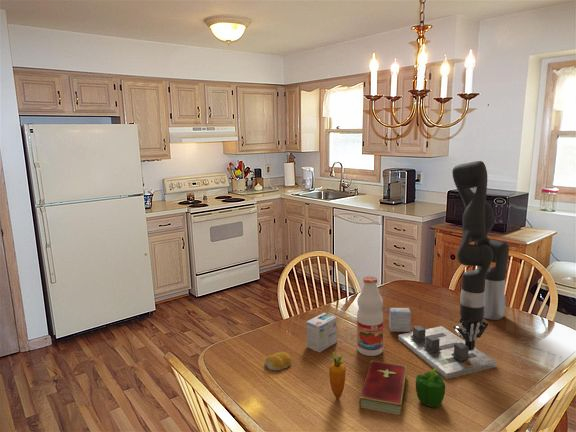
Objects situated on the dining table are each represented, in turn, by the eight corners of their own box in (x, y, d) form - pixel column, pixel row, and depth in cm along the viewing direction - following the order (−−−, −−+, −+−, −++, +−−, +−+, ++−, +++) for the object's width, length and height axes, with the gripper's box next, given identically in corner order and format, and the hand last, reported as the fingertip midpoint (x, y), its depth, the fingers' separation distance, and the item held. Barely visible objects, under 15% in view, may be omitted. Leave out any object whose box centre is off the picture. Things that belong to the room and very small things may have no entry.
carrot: (328, 394, 127) (327, 350, 124) (344, 393, 127) (343, 348, 124) (331, 404, 122) (330, 358, 119) (347, 403, 122) (347, 357, 119)
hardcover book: (359, 409, 120) (359, 396, 119) (370, 370, 139) (370, 359, 139) (401, 417, 116) (401, 404, 115) (406, 376, 135) (406, 364, 134)
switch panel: (441, 330, 164) (442, 325, 164) (496, 366, 138) (496, 361, 138) (398, 339, 159) (398, 334, 158) (446, 379, 132) (446, 373, 132)
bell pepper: (429, 415, 116) (430, 383, 114) (409, 398, 123) (410, 368, 121) (451, 406, 119) (453, 375, 117) (431, 390, 127) (432, 361, 125)
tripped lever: (462, 352, 143) (462, 341, 142) (470, 358, 139) (471, 347, 138) (451, 355, 142) (452, 343, 141) (459, 360, 138) (460, 349, 137)
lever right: (420, 335, 156) (421, 324, 156) (427, 339, 153) (427, 329, 152) (410, 337, 155) (411, 326, 154) (417, 341, 151) (417, 331, 151)
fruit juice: (379, 343, 156) (379, 273, 151) (385, 356, 147) (386, 282, 142) (354, 344, 156) (354, 274, 151) (359, 357, 147) (359, 283, 141)
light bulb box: (324, 337, 163) (324, 311, 161) (337, 342, 158) (337, 316, 156) (306, 347, 155) (305, 320, 153) (319, 353, 151) (318, 326, 149)
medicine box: (408, 327, 168) (408, 307, 167) (410, 332, 164) (411, 312, 162) (388, 327, 169) (389, 307, 167) (390, 332, 165) (390, 312, 163)
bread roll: (295, 365, 144) (295, 355, 143) (274, 374, 139) (273, 363, 138) (282, 355, 150) (282, 345, 150) (261, 363, 146) (261, 353, 145)
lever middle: (434, 344, 149) (434, 334, 148) (441, 350, 145) (441, 339, 144) (423, 347, 148) (424, 336, 147) (430, 352, 144) (431, 341, 143)
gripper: (479, 295, 143) (477, 341, 146) (448, 301, 139) (446, 347, 142) (496, 303, 136) (493, 351, 139) (464, 309, 132) (461, 358, 135)
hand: (469, 349), depth 141 cm, fingers closed
